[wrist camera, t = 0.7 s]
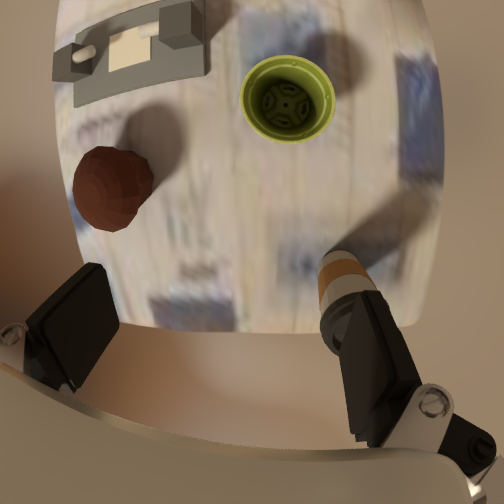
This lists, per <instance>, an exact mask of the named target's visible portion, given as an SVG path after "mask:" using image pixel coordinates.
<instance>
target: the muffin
mask: <svg viewBox="0 0 504 504" xmlns="http://www.w3.org/2000/svg"><path fill="white" fill-rule="evenodd" d="M153 178H154V175H153V174H152V172H151V170H150V168H149V165H148V162H147V160H146V159H144V158H142V157H140V156H138V155H137V154H135V153H134V152H133V151H123V150H117V149H115V148H114V147H106V146H97V147H95V148H94V149H92V150H91V151H89V152H87V153H86V154H84V156H83V158H82V160H81V161H80V163H79V165H78V167H77V168H76V171H75V174H74V180H73V190H72V191H73V196H74V201H75V205H76V207H77V209H78V211H79V213H80V214H81V216H82V218H83V219H84V220H86V221H87V222H88V223H89V224H90V225H92V226H93V227H94V228H96V229H100V230H105V231H109V232H115V231H118V230H121V229H123V228H126V227H127V226H128V225H129V224H130V222H131V221H132V220H133V218H134V217H135V216H136V215H137V211H138V208H139V207H140V206H141V205H142V204H143V203H144V202H145V201H146V200H147V198H148V197H149V196H150V195H151V194H152V183H153Z"/></svg>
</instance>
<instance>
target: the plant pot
mask: <svg viewBox="0 0 504 504" xmlns="http://www.w3.org/2000/svg"><path fill="white" fill-rule="evenodd" d="M284 87H290V88H293V89H294V91H292V90H289V89H284ZM268 97H270V99H269V102H268V107H267V106H266V99H267V98H268ZM285 103H286V104H288V106H287V107H284V104H285ZM240 105H241V109H242V112H243V115H244V117H245V119H246V120H247V122H248V123H249V125H250V126H251V127H252V128H253V129H254V130H255V131H256V132H257V133H258V134H260V135H261V136H263V137H264V138H266V139H269V140H271V141H274V142H277V143H282V144H299V143H303V142H306V141H309V140H311V139H313V138H315V137H317V136H318V135H320V134H321V133H322V132H323V131H324V130H325V129H326V128H327V127H328V125H329V124H330V122H331V120H332V118H333V115H334V112H335V106H336V98H335V92H334V88H333V85H332V83H331V81H330V79H329V78H328V76H327V75H326V73H325V72H324V71H323V70H322V69H321V68H320V67H319V66H317V65H316V64H314V63H313V62H311V61H309V60H307V59H305V58H302V57H298V56H292V55H280V56H274V57H270V58H268V59H265V60H263V61H262V62H260V63H258V64H257V65H255V66H254V67H253V68H252V69H251V70H250V71H249V72H248V74H247V75H246V77H245V79H244V81H243V83H242V86H241V90H240ZM303 105H305V106H306V109H305V113H304V114H303V115H302V114H301V113H302V110H303ZM277 120H279V121H283V122H287V124H280V123H278V122H277Z"/></svg>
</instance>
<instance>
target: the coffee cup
mask: <svg viewBox="0 0 504 504" xmlns="http://www.w3.org/2000/svg"><path fill="white" fill-rule="evenodd" d="M318 289H319V304H320V311H321V321H320V331H321V334H322V337H323V340H324V343H325V344H326V345H327V346H328V347H329V349H330V350H331V351H332V352H333V353H334V354H336V355H337V356H339V351H340V347H341V344H342V341H343V338H344V335H345V332H346V329H347V326H348V323H349V320H350V317H351V313H352V310H353V307H354V303H355V300H356V297H357V295H358V294H362V292H363V290H377V288H376V286H375V285H374V283H373V281H372V280H371V278H370V277H369V275H368V274H367V272H366V271H365V269H364V268H363V266H362V265H361V264H360V263H359V261H358V260H357V258H356V257H355V256H354V255H353V254H352V253H350V252H347V251H342V250H339V251H333V252H330V253H329V254H327V255H326V256H325V257H324V258H323V259H322V260H321V262H320V264H319V267H318ZM384 300H385V299H384ZM385 302H386V300H385ZM386 304H387V306H388V308H389V305H388V303H387V302H386ZM389 310H390V308H389ZM390 313H391V312H390Z"/></svg>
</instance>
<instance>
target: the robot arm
mask: <svg viewBox="0 0 504 504" xmlns="http://www.w3.org/2000/svg"><path fill="white" fill-rule="evenodd" d="M26 324H27V325H28V328H29V330H28V331H26V329H25V328H24V326H23V325H21V324H12V325H9V326H7V327H5V328H4V329H3V330H2V331H1V332H0V504H504V458H503V457H502V456H501V455H499V456H498V457H496V444H495V441H494V439H493V437H492V436H491V435H489V433H487V432H485V431H484V430H482V429H480V428H479V427H477V426H475V425H473V424H472V423H470V422H468V421H466V420H465V419H463V418H461V417H460V416H458V415H456V414H454V413H453V410H454V403H453V399H452V397H451V395H450V394H449V392H448V391H447V390H446V389H444V388H443V387H441V386H439V385H436V384H424V385H422V382H421V379H420V377H419V374H418V372H417V369H416V367H415V364H414V362H413V359H412V357H411V354H410V352H409V350H408V347H407V345H406V343H405V340H404V338H403V336H402V333H401V331H400V330H399V329H398V328H397V326H396V323H395V321H394V319H393V317H392V315H391V313H390V310H389V308H388V306H387V304H386V302H385V300H384V298H383V296H382V294H381V292H380V291H378V290H363V292H362V294H358V295H357V297H356V300H355V303H354V307H353V310H352V313H351V317H350V320H349V323H348V326H347V329H346V332H345V335H344V338H343V341H342V344H341V347H340V351H339V359H340V366H341V372H342V378H343V384H344V391H345V397H346V404H347V411H348V419H349V427H350V432H351V434H355V438H356V442H362V441H367V446H368V447H369V448H365V449H341V450H292V449H271V448H259V447H250V446H241V445H233V444H225V443H220V442H213V441H208V440H202V439H197V438H192V437H188V436H183V435H179V434H174V433H170V432H166V431H162V430H159V429H155V428H152V427H148V426H145V425H141V424H138V423H135V422H132V421H129V420H126V419H123V418H120V417H117V416H114V415H112V414H109V413H106V412H104V411H101V410H99V409H96V408H94V407H91V406H89V405H86V404H84V403H81V402H79V401H77V400H75V399H73V398H70V397H68V396H66V395H64V394H62V393H60V389H59V388H60V387H61V386H62V387H63V389H64V390H66V391H68V392H70V393H73V394H74V393H75V392H76V390H77V388H80V387H81V386H82V384H83V383H84V381H85V380H86V378H87V376H88V375H89V373H90V372H91V370H92V369H93V367H94V365H95V364H96V362H97V361H98V359H99V358H100V356H101V355H102V353H103V352H104V350H105V348H106V347H107V346H108V344H109V343H110V341H111V340H112V338H113V337H114V335H115V334H116V332H117V331H118V329H119V319H118V315H117V312H116V308H115V305H114V301H113V297H112V294H111V290H110V286H109V281H108V277H107V273H106V270H105V269H104V268H103V266H102V265H101V264H98V263H91V262H88V263H86V264H85V265H84V266H83V267H82V268H80V269H79V270H78V271H77V272H76V273H75V274H74V275H73V276H71V278H69V279H68V280H67V281H66V282H65V283H64V284H63V285H62V286H61V287H59V288H58V290H56V291H55V292H54V293H53V294H52V295H51V296H50V297H49V298H48V299H47V300H46V301H45V302H44V303H43V304H42V305H41V306H40V307H39V308H38V309H37V310H36V311H35V312H34V313H33V314H32V315H31V316H30V317H29V318H28V319H27V320H26Z"/></svg>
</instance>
